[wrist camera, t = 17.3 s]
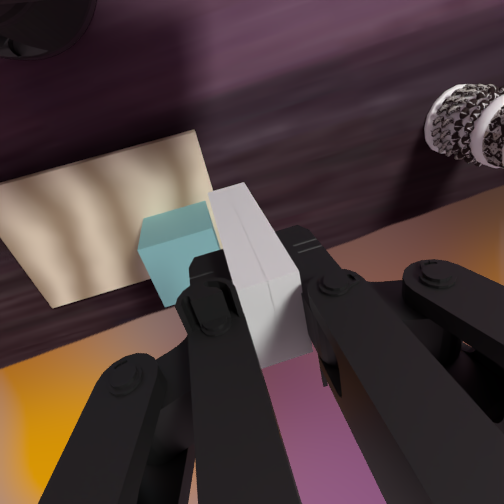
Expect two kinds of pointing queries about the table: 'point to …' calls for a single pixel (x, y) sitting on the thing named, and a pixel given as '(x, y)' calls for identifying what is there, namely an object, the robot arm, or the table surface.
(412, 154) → the table surface
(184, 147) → the base board
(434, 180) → the table surface
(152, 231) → the teal cube
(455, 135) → the decorative candle
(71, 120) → the table surface
